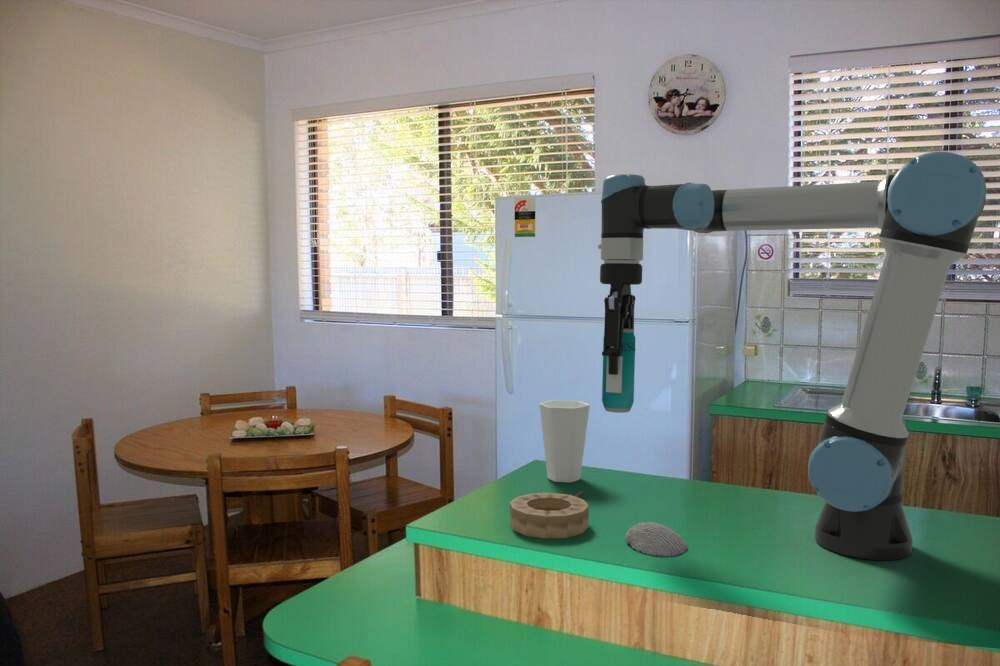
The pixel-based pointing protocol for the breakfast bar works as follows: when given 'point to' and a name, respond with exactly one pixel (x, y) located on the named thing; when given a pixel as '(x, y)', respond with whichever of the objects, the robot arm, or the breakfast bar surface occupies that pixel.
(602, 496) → the breakfast bar surface
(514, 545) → the breakfast bar surface
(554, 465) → the cup
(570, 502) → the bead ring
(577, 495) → the brown stick
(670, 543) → the seashell
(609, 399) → the beverage can
